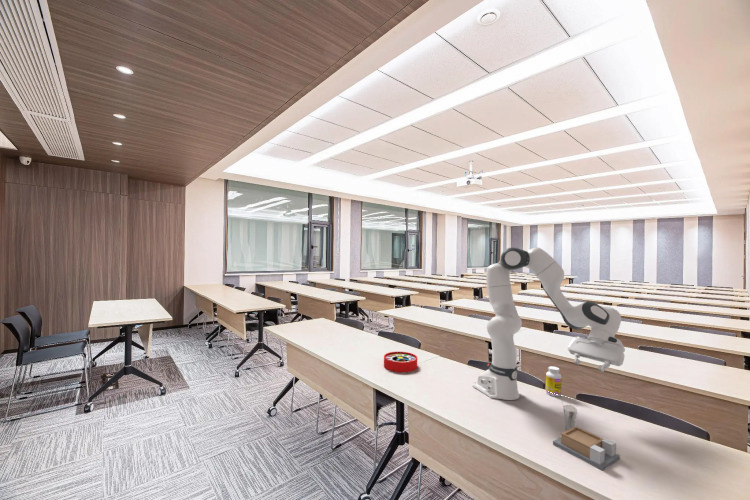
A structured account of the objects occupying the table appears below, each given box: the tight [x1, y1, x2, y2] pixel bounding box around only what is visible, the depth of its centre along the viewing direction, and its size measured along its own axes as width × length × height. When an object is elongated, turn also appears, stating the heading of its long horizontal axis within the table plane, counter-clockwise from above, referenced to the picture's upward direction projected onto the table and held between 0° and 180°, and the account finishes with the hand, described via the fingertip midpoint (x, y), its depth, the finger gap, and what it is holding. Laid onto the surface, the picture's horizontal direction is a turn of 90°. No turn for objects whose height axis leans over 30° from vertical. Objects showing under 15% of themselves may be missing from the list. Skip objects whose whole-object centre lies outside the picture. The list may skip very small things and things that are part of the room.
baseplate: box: [552, 425, 621, 472], centre depth 113 cm, size 16×12×5 cm
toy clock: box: [383, 351, 418, 373], centre depth 193 cm, size 20×6×20 cm
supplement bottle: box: [545, 365, 562, 397], centre depth 159 cm, size 7×7×13 cm
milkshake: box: [560, 401, 578, 431], centre depth 128 cm, size 4×5×10 cm
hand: (588, 366), depth 135 cm, fingers open, 8 cm apart
